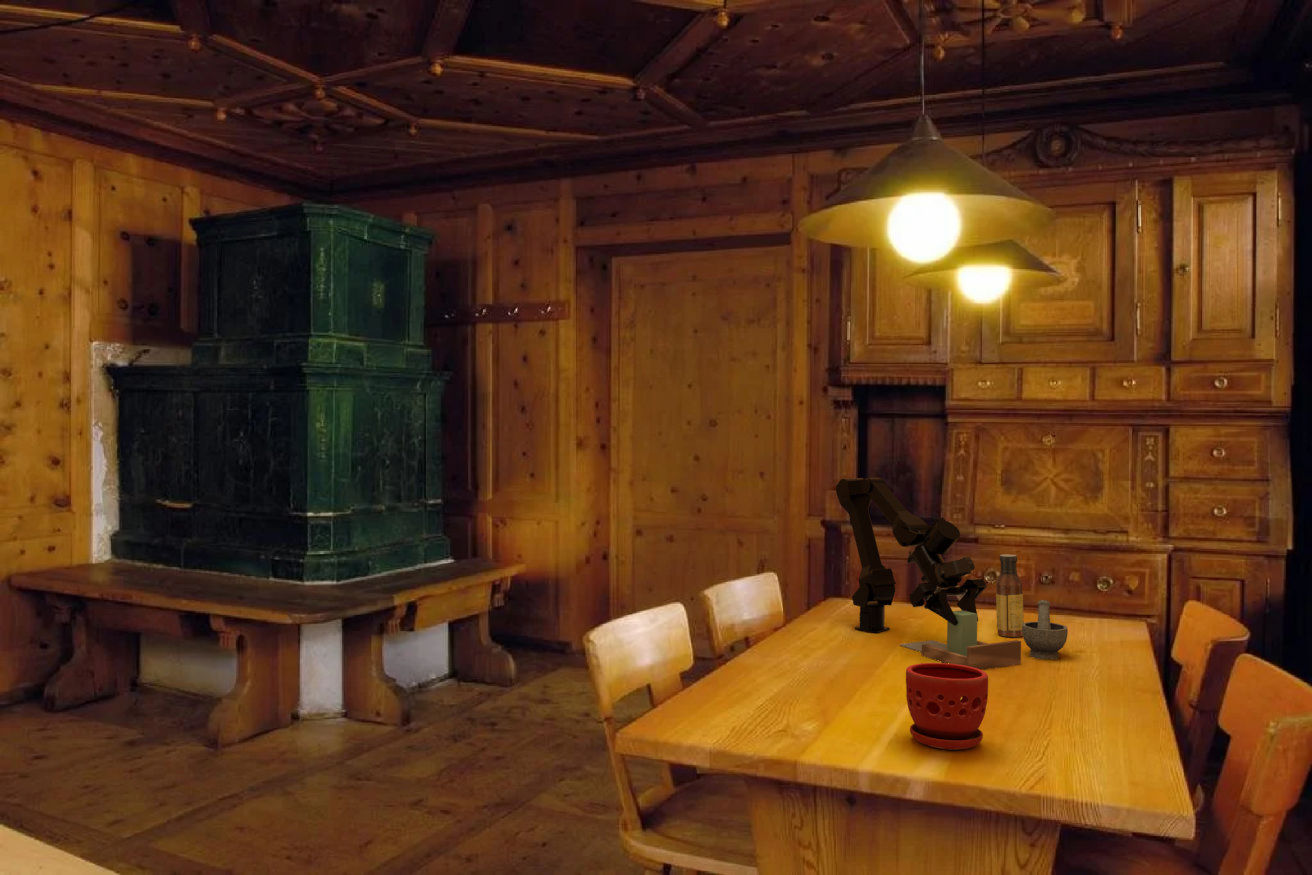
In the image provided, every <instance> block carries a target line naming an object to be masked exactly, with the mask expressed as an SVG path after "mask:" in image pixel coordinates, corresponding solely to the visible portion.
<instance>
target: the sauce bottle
mask: <svg viewBox="0 0 1312 875" xmlns="http://www.w3.org/2000/svg"><path fill="white" fill-rule="evenodd" d="M999 561H1000V571H999V572H1000V574H999V575H998V577H997V579H996V581H995V584H996V587H995V589H996V593H995V597H996V598H995V600H996V601H995V602H996V603H995V605H996V629H997V634H998V636H1001V637H1003V638H1004V637H1005V638H1021V637H1023V632H1022V623H1025V622H1024V620H1025V617H1024V592H1023V583H1022V581H1021V579H1020V576H1019V575H1018V571H1017V570H1018V569H1017V562H1018V556H1017V555H1016V554H1013V553H1012V554H1011V553H1010V554H1009V553H1006V554H1000V555H999Z"/></svg>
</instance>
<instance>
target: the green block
mask: <svg viewBox="0 0 1312 875" xmlns="http://www.w3.org/2000/svg"><path fill="white" fill-rule="evenodd" d="M952 611H953V610H952ZM953 613H954V615H955V616H956V619H957V621H958V624H957V625H956V626H954V625H953V624H951V623H950V622H948V621H947V620H946V621H947V623H946V624H947V625H946V627H947V628H946V629H947V630H946V633H947V634H946V635H947V636H946V637H947V638H946V644H947V651H950V652H954V653H957V654H960V655H964V656H967V647H968V646H975V645H977V641H978V622H977V616H978V613H977V614H976V613H972V612H968V611H964V610H961V609H960V610H954V611H953Z"/></svg>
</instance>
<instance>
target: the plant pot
mask: <svg viewBox="0 0 1312 875" xmlns="http://www.w3.org/2000/svg"><path fill="white" fill-rule="evenodd" d="M905 688H906V690H905V691H906V692H905V693H906V695H905V696H906V703H907V704H906V705H907V708H908V711H909V715H910V717H911V719H912V721H913V723H912V724H911V725H910V727H909V733H910V735H911V736H912V737H913V738H914V739H915V741H916V742H919V743H921V744H923V745H925V746H928V747H932V748H936V749H939V750H941V749H942V750H949V751H952V752H953V751H956V750H957V751H958V750H965V749H966V750H967V749H970V748H973V747H975V746H978V744H980V743H981V742H982V740H983V738H984V733H983V731H982V730H980V729H979V728H980V726H981V725H982V722H983V720H984V718H985V714H986V711H987V704H988V697H989V675H988V673H987V672H986V671H984V670H980V669H977V668H974V667H970V666H965V665H958V664H948V663H943V662H924V663H922V662H921V663H915V664H912V665H909V666H907V667H906V669H905Z"/></svg>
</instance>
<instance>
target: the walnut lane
mask: <svg viewBox="0 0 1312 875" xmlns="http://www.w3.org/2000/svg"><path fill="white" fill-rule="evenodd" d="M922 655H923V656H922ZM921 656H922V657H924V656H925V657H924V658H927V657H928V659H930V658H931V659H930V660H933V659H936V660H935V661H937V660H939V661H938V662H940V661H941V662H940V663H943V662H944V663H949V664H958V665H965V666H970V667H974V668H977V669H980V670H982V669H983V671H984V670H988V668H991V669H996V668H995V667H997V668H1003V667H1010V666H1017V664H1018V665H1021V664H1022V661H1021V660H1022V641H1021V640H1018V639H1015V640H1014V639H1013V640H1006V641H999V642H993V643H987V642H983V641H979V640H977V645H975V646H968V647H967V656H964V655H960V654H957V653H954V652H950V651H947V650H944V649H940V648H937V647H934V646H930V645H927V644H923V645H922V652H921Z"/></svg>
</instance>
